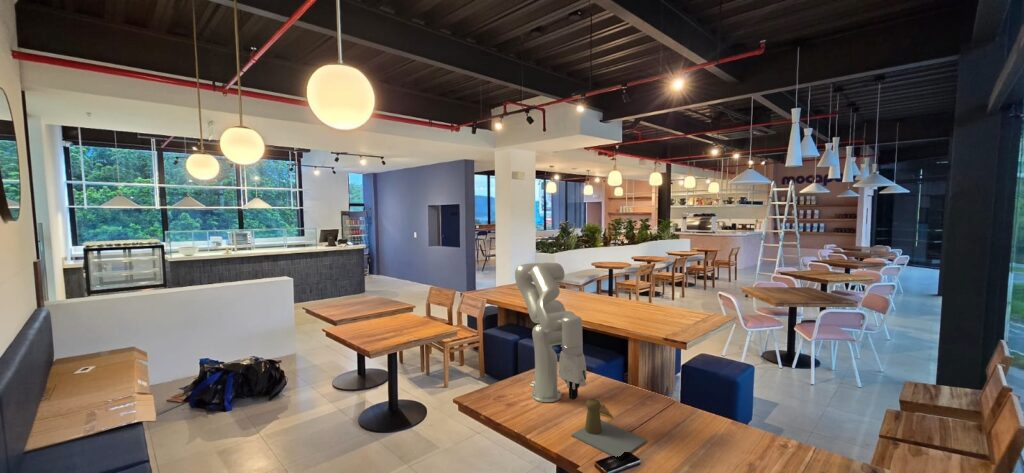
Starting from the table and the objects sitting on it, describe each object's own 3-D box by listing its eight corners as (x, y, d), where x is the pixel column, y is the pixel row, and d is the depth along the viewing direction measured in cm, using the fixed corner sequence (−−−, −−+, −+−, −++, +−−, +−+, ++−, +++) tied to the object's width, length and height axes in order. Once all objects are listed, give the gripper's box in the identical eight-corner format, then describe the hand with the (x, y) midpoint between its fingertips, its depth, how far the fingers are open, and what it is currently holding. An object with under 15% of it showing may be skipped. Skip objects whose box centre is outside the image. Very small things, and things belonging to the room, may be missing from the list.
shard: (612, 420, 160) (612, 415, 160) (592, 421, 160) (592, 416, 160) (603, 406, 171) (603, 402, 171) (584, 408, 170) (584, 403, 170)
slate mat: (571, 436, 149) (571, 434, 149) (598, 420, 159) (598, 418, 159) (620, 460, 134) (620, 458, 134) (646, 441, 144) (646, 439, 144)
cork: (582, 426, 154) (582, 397, 153) (598, 425, 155) (598, 395, 154) (587, 435, 148) (587, 404, 147) (604, 433, 149) (604, 403, 148)
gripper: (550, 347, 160) (551, 395, 160) (582, 356, 148) (583, 407, 149) (563, 343, 165) (564, 389, 165) (595, 351, 153) (596, 401, 154)
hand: (573, 398), depth 157 cm, fingers closed
